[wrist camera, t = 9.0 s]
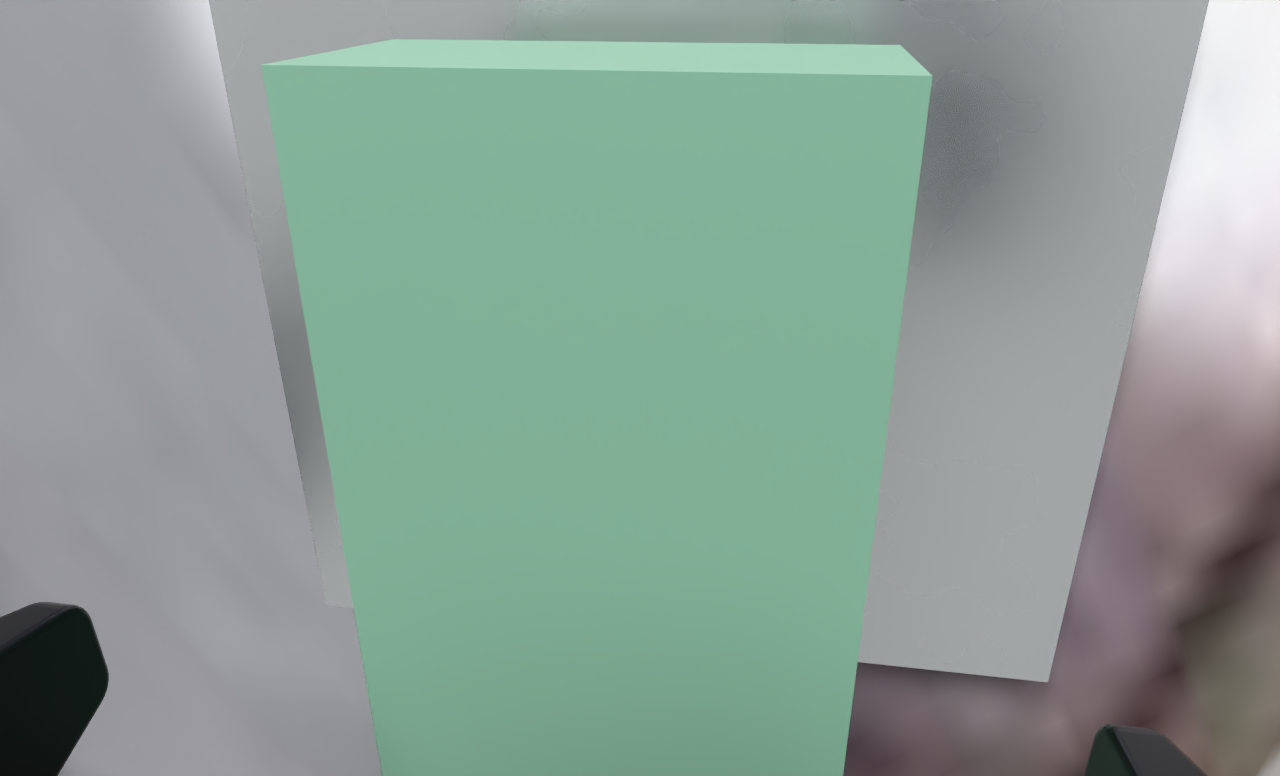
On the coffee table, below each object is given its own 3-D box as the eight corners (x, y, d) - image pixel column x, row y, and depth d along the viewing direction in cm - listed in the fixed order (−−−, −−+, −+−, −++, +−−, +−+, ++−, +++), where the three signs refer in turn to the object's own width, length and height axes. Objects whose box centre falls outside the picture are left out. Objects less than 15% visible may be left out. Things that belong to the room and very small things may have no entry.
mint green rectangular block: (825, 716, 14) (827, 888, 12) (463, 672, 15) (389, 823, 13) (901, 45, 10) (932, 76, 8) (392, 39, 11) (261, 64, 8)
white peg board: (1033, 638, 18) (1084, 795, 14) (352, 570, 20) (260, 693, 16) (1186, -54, 12) (1322, -60, 9) (244, -44, 15) (80, -44, 11)
